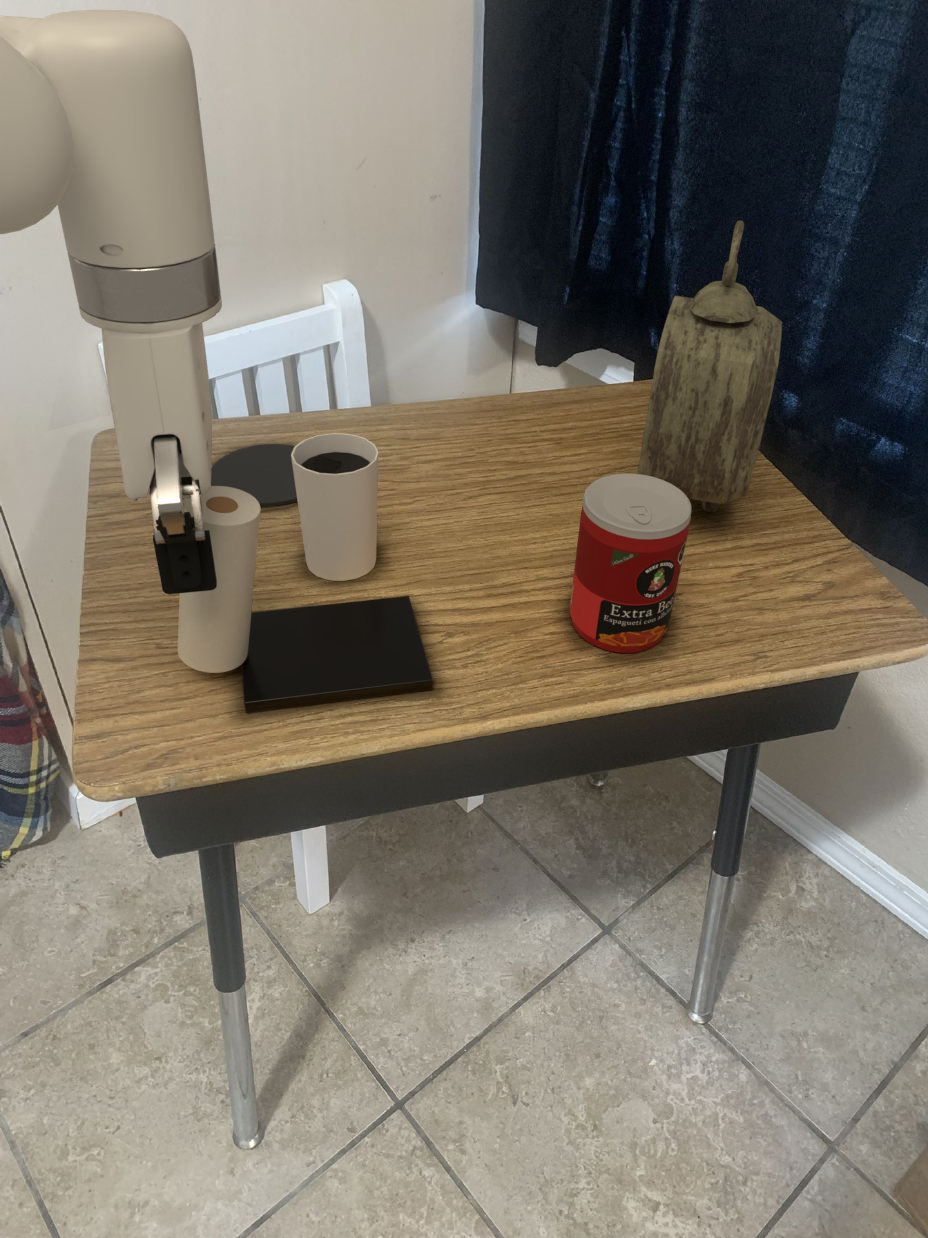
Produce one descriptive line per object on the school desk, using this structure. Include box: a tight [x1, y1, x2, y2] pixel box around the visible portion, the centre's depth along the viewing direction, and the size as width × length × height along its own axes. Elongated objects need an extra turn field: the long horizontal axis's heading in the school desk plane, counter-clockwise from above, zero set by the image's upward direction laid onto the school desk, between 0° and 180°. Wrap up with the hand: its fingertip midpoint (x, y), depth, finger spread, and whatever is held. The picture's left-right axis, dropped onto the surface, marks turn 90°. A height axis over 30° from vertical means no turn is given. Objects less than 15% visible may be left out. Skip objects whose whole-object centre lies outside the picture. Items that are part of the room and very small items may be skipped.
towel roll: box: [177, 486, 262, 674], centre depth 66 cm, size 12×5×5 cm
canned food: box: [569, 473, 692, 654], centre depth 72 cm, size 8×8×11 cm
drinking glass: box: [291, 432, 379, 582], centre depth 78 cm, size 7×7×10 cm
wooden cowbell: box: [637, 220, 783, 514], centre depth 82 cm, size 14×9×25 cm, turn 164°
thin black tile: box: [241, 595, 434, 714], centre depth 71 cm, size 13×10×1 cm
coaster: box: [211, 443, 298, 508], centre depth 92 cm, size 11×11×1 cm
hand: (190, 545), depth 63 cm, fingers open, 9 cm apart
